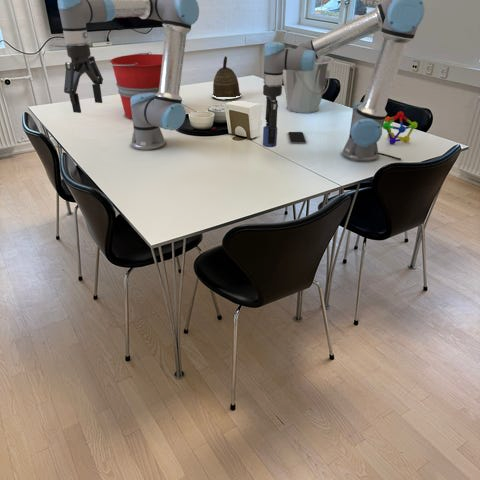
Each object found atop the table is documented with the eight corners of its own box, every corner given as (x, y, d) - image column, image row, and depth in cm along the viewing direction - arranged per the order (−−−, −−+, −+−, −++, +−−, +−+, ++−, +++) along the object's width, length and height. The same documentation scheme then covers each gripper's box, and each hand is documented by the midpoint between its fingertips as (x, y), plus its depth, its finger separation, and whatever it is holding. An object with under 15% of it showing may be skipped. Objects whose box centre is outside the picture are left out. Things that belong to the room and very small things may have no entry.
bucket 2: (304, 119, 242) (309, 65, 227) (267, 107, 261) (268, 57, 246) (338, 109, 259) (345, 58, 244) (301, 99, 278) (304, 51, 263)
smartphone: (290, 142, 209) (288, 131, 222) (290, 143, 209) (288, 133, 222) (306, 142, 209) (302, 131, 221) (305, 143, 209) (302, 133, 222)
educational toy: (377, 146, 209) (379, 114, 202) (384, 138, 219) (386, 107, 211) (411, 149, 202) (415, 116, 195) (417, 141, 212) (420, 109, 204)
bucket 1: (124, 105, 264) (117, 51, 248) (182, 105, 263) (179, 51, 247) (107, 122, 235) (98, 62, 219) (173, 123, 234) (169, 63, 218)
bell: (227, 105, 294) (202, 96, 282) (238, 66, 289) (213, 55, 277) (243, 108, 280) (217, 98, 268) (255, 66, 275) (229, 55, 263)
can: (278, 144, 191) (279, 126, 187) (272, 148, 186) (273, 130, 182) (266, 141, 193) (267, 124, 189) (260, 145, 188) (261, 128, 184)
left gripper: (64, 50, 138) (77, 117, 149) (107, 39, 158) (115, 99, 170) (43, 49, 140) (58, 115, 151) (88, 38, 160) (98, 98, 172)
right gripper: (260, 79, 184) (258, 133, 196) (267, 90, 168) (264, 148, 180) (277, 79, 185) (274, 133, 197) (286, 90, 169) (282, 148, 181)
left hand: (88, 107), depth 161 cm, fingers open, 13 cm apart
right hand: (270, 140), depth 189 cm, fingers closed on can, 6 cm apart
